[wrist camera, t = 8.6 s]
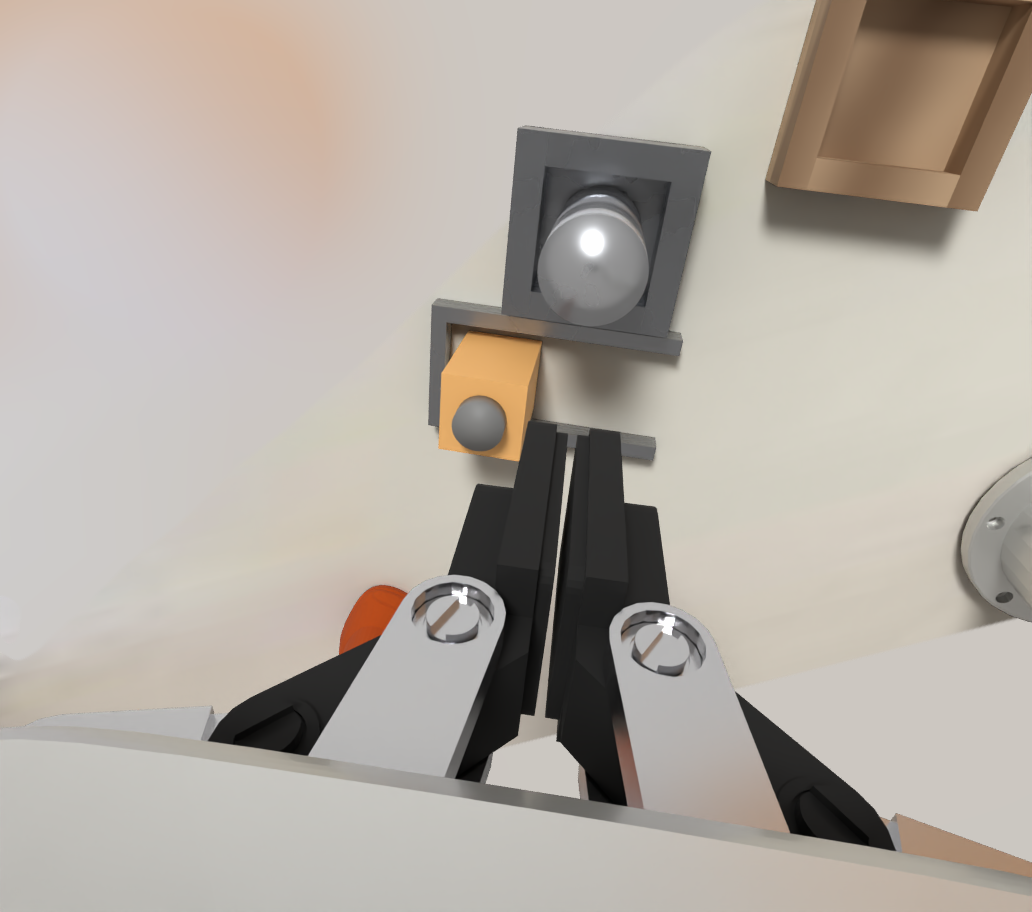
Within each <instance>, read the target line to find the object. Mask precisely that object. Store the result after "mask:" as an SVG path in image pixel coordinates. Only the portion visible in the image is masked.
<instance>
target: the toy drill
mask: <svg viewBox="0 0 1032 912" xmlns="http://www.w3.org/2000/svg"><path fill="white" fill-rule="evenodd" d="M406 596H407V593H406V592H404V591H402V590H400V589H397V588H395V587H391V586H386V585H379V586H374V587H372V588H370V589H368V590H367V591H366V592H365V593H364V594H363V595H362V596H361V597H360V598H359V599H358V601H357V602H356V604H355V605H354V607H353V609H352V611H351V612H350V614H349V616H348V618H347V620H346V623H345V625H344V628H343V630H342V634H341V638H340V647H339V655H340V654H342V653H344V652H346V651H348V650H351V649H353V648H355V647H357V646H359V645H361V644H363V643H365V642H367V641H369V640H371V639H373V638H376V637H378V636H380V635H382V634H383V632H384V630H385V629H386V627H387V625H388V624H389V622H390V620H391V619H392V617H393V616H394V614H395V612H396V611H397V609H398V607H399V606H400V604H401V602H402V601H403V599H404V598H405V597H406Z"/></svg>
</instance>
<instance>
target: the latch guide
mask: <svg viewBox="0 0 1032 912" xmlns="http://www.w3.org/2000/svg"><path fill="white" fill-rule="evenodd" d="M501 311H502V308H501V307H494V306H487V305H480V304H473V303H466V302H459V301H452V300H445V299H437V300H436V301H435V302H434V303H433V304H432V316H431V350H430V385H429V420H428V425H431V426H437V427H439V424H440V398H441V373H442V372H443V370H444V368H445V367H446V365H447V364H448V362H449V361H450V343H451V323H455V324H461V325H468V326H475V327H482V328H489V329H496V330H503V331H510V332H517V333H523V334H530V335H537V336H544V337H551V338H558V339H565V340H572V341H579V342H586V343H592V344H599V345H606V346H613V347H620V348H627V349H634V350H641V351H648V352H655V353H661V354H668V355H675V356H679V355H680V351H681V347H682V343H683V339H682V335H681V333H677V332H670V331H669V332H668V336H667V338H663V337H656V336H649V335H642V334H635V333H628V332H621V331H614V330H607V329H600V328H593V327H586V326H579V325H572V324H565V323H558V322H551V321H544V320H537V319H531V318H524V317H517V316H510V315H503V314H501ZM530 421H535V422H543V423H551V424H557V432H561V433H568V441H567V447H571V448H575V447H576V440H577V435H585V436H589V431H590V428H589V427H582V426H576V425H569V424H563V423H557V422H550V421H544V420H537V419H530ZM592 429H595V428H592ZM600 430H602V429H600ZM620 436H621V454H622V456H628V457H634V458H640V459H647V460H653V458H654V454H655V450H656V443H655V438H653V437H647V436H640V435H634V434H628V433H621V432H620Z"/></svg>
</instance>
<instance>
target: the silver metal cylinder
mask: <svg viewBox="0 0 1032 912" xmlns="http://www.w3.org/2000/svg"><path fill="white" fill-rule="evenodd" d="M648 274H649V264H648V256H647V251H646V246H645V240H644V235H643V229H642V224H641V219H640V215H639V212H638V210H637V208H636V206H635V204H634V203H633V201H632V200H631V199H630V198H629V197H628V196H627V195H626V194H625V193H623V192H622V191H620V190H618V189H616V188H613V187H609V186H592V187H588V188H586V189H583V190H581V191H579V192H578V193H576V194H575V195H573V196H572V197H571V198H570V199H569V200H568V201H567V203H566V204H565V205H564V207H563V208H562V210H561V212H560V214H559V216H558V218H557V220H556V222H555V224H554V226H553V228H552V230H551V232H550V234H549V236H548V238H547V240H546V242H545V245H544V247H543V249H542V251H541V254H540V257H539V262H538V282H539V287H540V290H541V293H542V295H543V297H544V299H545V301H546V302H547V304H548V305H549V306H550V307H551V309H552V310H553V311H554V312H555V313H557V314H558V315H559V316H560V317H562V318H563V319H565V320H567V321H569V322H571V323H574V324H577V325H582V326H601V325H606V324H609V323H612V322H614V321H617V320H619V319H620V318H622V317H623V316H625V315H626V314H627V313H629V312H630V311H631V310H632V309H633V308H634V307H635V305H636V304H637V303H638V302H639V300H640V298H641V297H642V295H643V293H644V290H645V288H646V284H647V281H648Z"/></svg>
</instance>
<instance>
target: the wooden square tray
mask: <svg viewBox="0 0 1032 912" xmlns="http://www.w3.org/2000/svg"><path fill="white" fill-rule="evenodd" d="M1031 93H1032V0H816V3H815V6H814V10H813V13H812V17H811V20H810V24H809V27H808V31H807V34H806V38H805V41H804V45H803V48H802V52H801V56H800V59H799V63H798V66H797V70H796V73H795V77H794V80H793V84H792V87H791V91H790V94H789V98H788V101H787V105H786V108H785V112H784V115H783V119H782V123H781V126H780V130H779V133H778V137H777V140H776V144H775V147H774V151H773V154H772V158H771V161H770V165H769V168H768V172H767V175H766V179H765V180H766V181H768V182H770V183H772V184H774V185H775V186H777V187H785V188H793V189H801V190H809V191H817V192H825V193H833V194H841V195H850V196H858V197H866V198H874V199H882V200H890V201H898V202H906V203H914V204H922V205H930V206H938V207H946V208H954V209H962V210H971V211H978V209H979V206H980V204H981V202H982V200H983V198H984V195H985V193H986V191H987V189H988V187H989V185H990V182H991V180H992V178H993V176H994V174H995V172H996V169H997V167H998V165H999V163H1000V161H1001V158H1002V156H1003V154H1004V152H1005V150H1006V148H1007V145H1008V143H1009V141H1010V139H1011V137H1012V134H1013V132H1014V130H1015V128H1016V126H1017V124H1018V121H1019V119H1020V117H1021V115H1022V113H1023V110H1024V108H1025V106H1026V104H1027V102H1028V100H1029V97H1030V95H1031Z"/></svg>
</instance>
